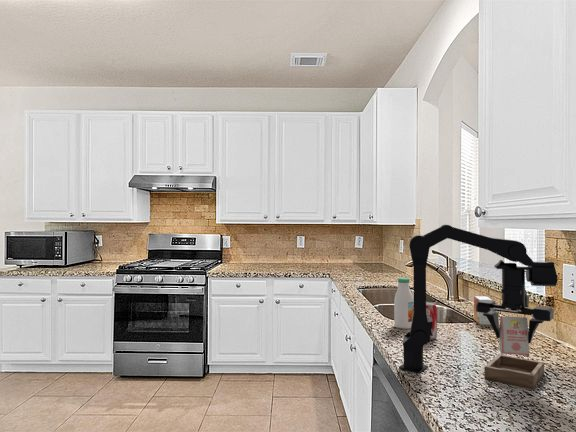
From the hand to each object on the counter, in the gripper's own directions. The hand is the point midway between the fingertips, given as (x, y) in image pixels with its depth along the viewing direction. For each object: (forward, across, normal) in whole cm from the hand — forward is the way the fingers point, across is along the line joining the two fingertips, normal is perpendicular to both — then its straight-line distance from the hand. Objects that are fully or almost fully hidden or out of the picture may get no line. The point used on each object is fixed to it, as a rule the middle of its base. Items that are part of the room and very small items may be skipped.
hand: (513, 340), depth 122 cm
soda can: (+11, +35, -23) cm, 43 cm away
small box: (+10, +26, -60) cm, 67 cm away
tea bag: (+4, 0, 0) cm, 4 cm away
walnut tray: (+10, 0, 0) cm, 10 cm away
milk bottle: (+11, +49, -33) cm, 60 cm away
